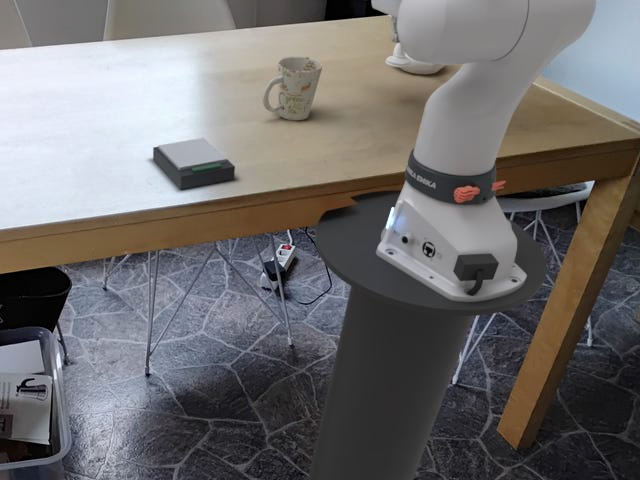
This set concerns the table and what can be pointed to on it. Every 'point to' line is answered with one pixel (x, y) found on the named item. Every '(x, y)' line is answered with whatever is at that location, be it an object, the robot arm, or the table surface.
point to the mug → (294, 87)
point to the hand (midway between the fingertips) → (402, 44)
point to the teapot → (420, 66)
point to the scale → (193, 163)
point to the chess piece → (398, 58)
